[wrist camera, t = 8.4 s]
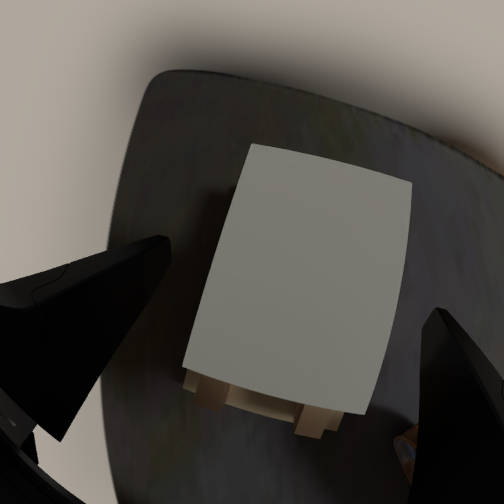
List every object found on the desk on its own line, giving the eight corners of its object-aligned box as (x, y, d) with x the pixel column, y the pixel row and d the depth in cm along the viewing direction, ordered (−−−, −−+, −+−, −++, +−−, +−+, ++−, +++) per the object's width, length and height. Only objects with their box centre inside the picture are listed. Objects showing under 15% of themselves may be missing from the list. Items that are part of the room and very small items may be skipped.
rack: (334, 425, 15) (345, 451, 11) (187, 384, 17) (163, 399, 13) (386, 222, 18) (408, 199, 14) (246, 187, 19) (237, 157, 16)
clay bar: (307, 344, 16) (364, 414, 4) (258, 331, 16) (182, 366, 4) (325, 279, 16) (411, 183, 4) (276, 266, 17) (252, 143, 5)
